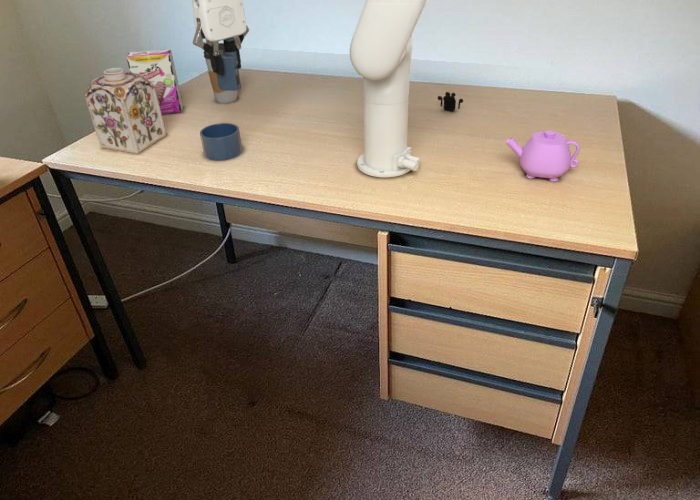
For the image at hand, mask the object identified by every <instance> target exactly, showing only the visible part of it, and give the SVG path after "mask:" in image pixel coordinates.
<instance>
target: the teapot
mask: <svg viewBox="0 0 700 500" xmlns="http://www.w3.org/2000/svg"><path fill="white" fill-rule="evenodd" d="M505 144H506V145H507V146H508V148H510V149H511V151H512V152H513V153H514V154H516V155H517V156H518V158H519V164H520V166H521V168H522V170H523V171H524V173H526V178H527V179H535V178H544V179H548V180H549V181H551V182H558V181H559V178H560V177H562V176H563V175H564V174H566V173H567V172H568V171H569V169H570V168H577V167H578V166H579V163H580V162H579V160H578V159H576V158H577V156H578V154H579V153H580V150H581V146H580V143H579V142H578V141H576V140H573V139H570V140H567V138H566V136H565V135H564V134H562V133H560V132H557V131H555V130H552V129H547V130H540V131H536V132H535V133H533V134H532V136H530V138H529V139H528V141H527V142H526V143H525V144H524V146H523V147H522V146H521V145H520V144H519V143H518V142H517V141H516V139H515V138H514V137H513V136H512V137H509V138H508V139H507V140H506V141H505ZM570 145H573V146H575V151H574V152H573V154H572V152H571V149H570Z"/></svg>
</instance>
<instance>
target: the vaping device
mask: <svg viewBox="0 0 700 500" xmlns="http://www.w3.org/2000/svg"><path fill="white" fill-rule="evenodd" d="M222 41H223V42H222V43H224V49H225V54H224V50H219V55H221V56H222V62H223V68H224V74H222V75H221V74H217V73H216V75H217V81H218V86H219V87H220V89H221V90H230V91H236V90H237V91H240V90H241V89H242V84H241V77H240V71H239V70H240V69H238V59H237V54H236V47H235V40H234V37H232V38H229V39H225V40H222Z"/></svg>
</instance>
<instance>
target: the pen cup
mask: <svg viewBox="0 0 700 500" xmlns="http://www.w3.org/2000/svg"><path fill="white" fill-rule="evenodd" d="M199 137H200V141H201V146H202V150H203V155H204V157H205V158H206V159H208V160H211V161H220V162H221V161H227V160H228V161H229V160H232V159H235V158H237V157H238V156H240V155H241V154H242V152H243V145H242V138H241V132H240V127H239V126H238V125H237V124H234V123H231V122H220V123H214V124H209V125H206V126H205V127H202V128H201V130H200V131H199Z"/></svg>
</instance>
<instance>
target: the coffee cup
mask: <svg viewBox="0 0 700 500" xmlns="http://www.w3.org/2000/svg"><path fill="white" fill-rule="evenodd" d="M219 50H224V54H225V49H224V42H219ZM203 58H204V59H205V64H206V67H207V68H206V69H207V71H208V72H207V73H208V78H209V80H210V84H211V88H212V92H213V95H214V100H216V103H219V104H229V103H233V102H235V101H237V100H238V90H236V91H230V90H221V89H220V87H219V86H218V81H217V75H216V73H214V72H213V69H212V67H211V61H210V55H209V54H207V53H206V51H204V50H203Z"/></svg>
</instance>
